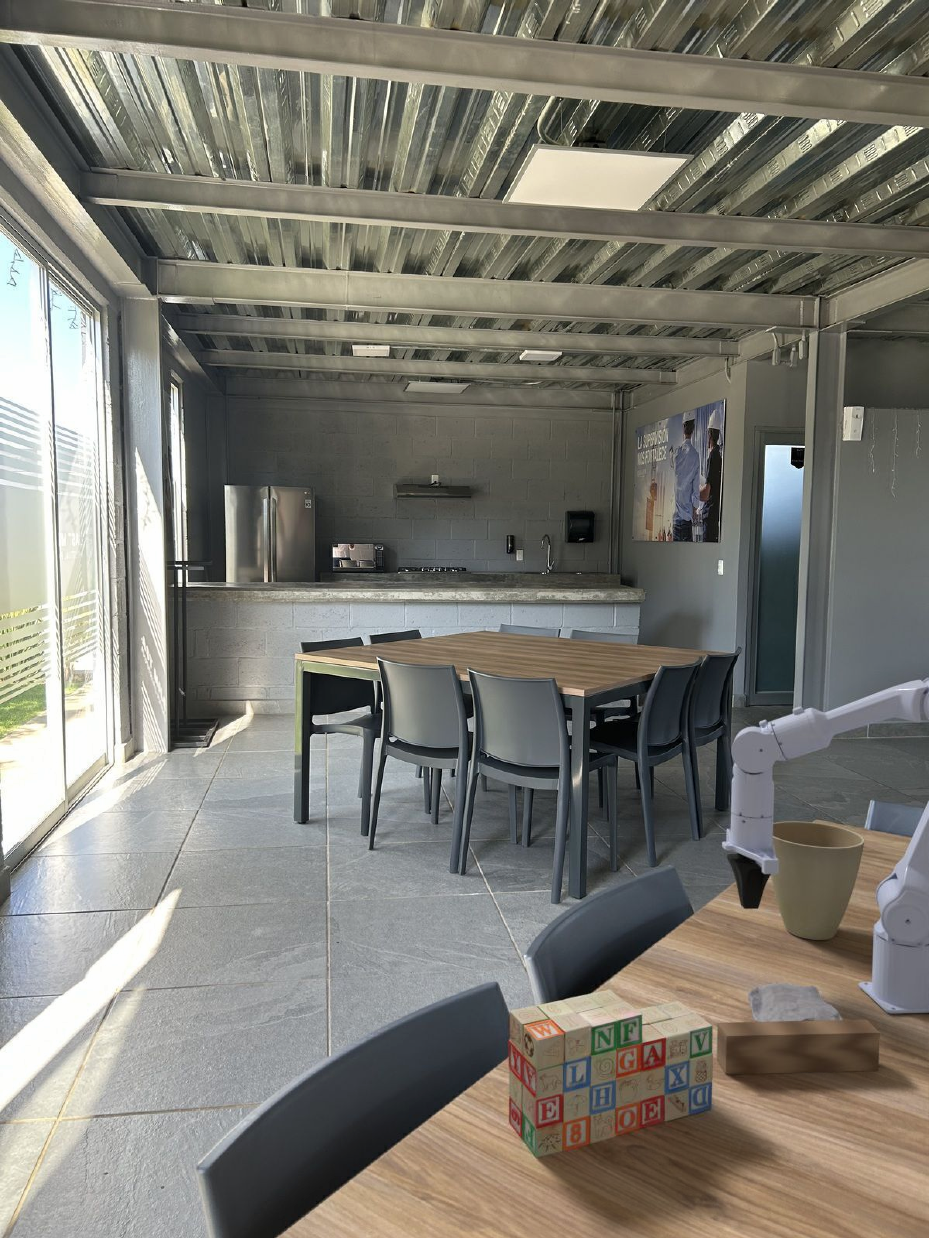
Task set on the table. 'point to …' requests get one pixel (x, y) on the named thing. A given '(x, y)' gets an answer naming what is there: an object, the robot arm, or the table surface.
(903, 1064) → the table surface
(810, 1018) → the stone block
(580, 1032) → the stack of blocks
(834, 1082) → the table surface
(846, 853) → the plant pot
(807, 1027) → the board
